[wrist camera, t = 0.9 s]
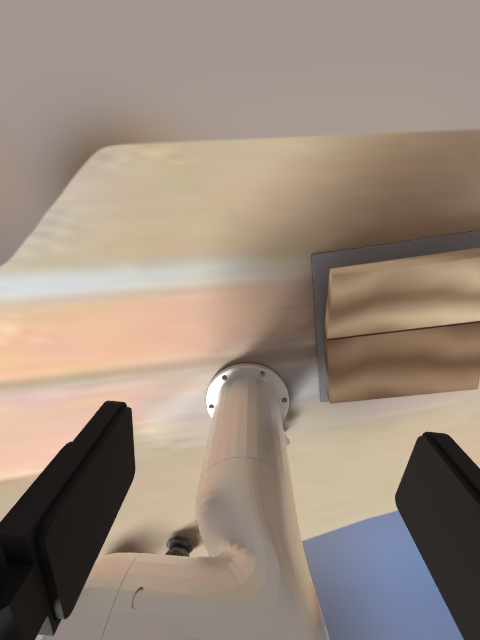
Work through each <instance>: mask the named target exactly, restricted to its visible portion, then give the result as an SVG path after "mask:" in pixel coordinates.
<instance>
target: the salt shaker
mask: <svg viewBox="0 0 480 640" xmlns="http://www.w3.org/2000/svg"><path fill="white" fill-rule="evenodd" d="M167 547H168V549H169V551H168V552H167V553H166V554H165V555H174V556H186V557H190V556H189V553H190V552H192V550H193V544H192V542H191V541H190V540H188V539H186V538H183V537H174V538H171V539H170V540H169V541H168V542H167Z"/></svg>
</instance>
